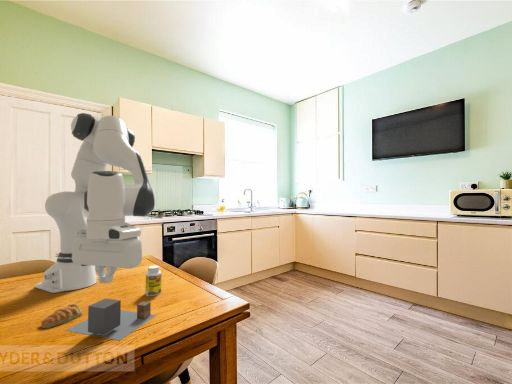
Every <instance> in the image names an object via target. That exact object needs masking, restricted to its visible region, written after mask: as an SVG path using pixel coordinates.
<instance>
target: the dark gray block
mask: <svg viewBox="0 0 512 384" xmlns="http://www.w3.org/2000/svg"><path fill="white" fill-rule="evenodd" d="M121 303H122V302H121V299H112V298H104V299H101V300H99V301H97V302H95V303H92V304H90V305H88V306H87V311H88V313H87V314H88V315H87V316H88V318H87V319H88V332H90V333H96V334H101V335H105V334H106V333H108V332H110V331H111V330H113V329H114V328H116V327H118V326H119V325H120V313H121V310H122V307H121Z"/></svg>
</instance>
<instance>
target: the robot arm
mask: <svg viewBox="0 0 512 384" xmlns="http://www.w3.org/2000/svg"><path fill="white" fill-rule="evenodd" d="M70 129H71V134H72V136H73V137H74V138H75V139H77V140H80V141H83V142H82V144H80V147H79V150H78V152H77V154H76V156H75V157H76V158H75V160H74V163H73V167H72V169H71V174H70V175H71V178H72V179H73V180H74V183H75V187H74V188H75V189H74V191H60V192H56V193H52V194H51V195H50V196H48V197H47V199H46V200H45V203H44V209H45V211H46V213H47V215H49V216H50V217H51V218H52V219H53V220H54V221H55V223H56V225H57V228H58V231H59V238H60V239H59V240H60V250H59V251H60V252H58V253H55V258H57V259H56V262H55V263H54V264H52V265H51V266H50V267H49V268H47V269H46V270H45V271H44V274H43V280H42V281H41V282H38V283H36V284H35V289H36V288H37V289H39V290H42V291H45V292H48V293H51V294H56V293H60V292H68V291H74V290H79V289H84V288H85V289H86V288H87V287H90V286H92V285H95V284H96V283H97V281H98V283H102V284H103V283H104V284H110V283H113V281H114V276H115V275H114V274H115V273H116V271H117V269H118V268H119V269H133V268H136V267H139V266H140V265H141V263H142V261H143V246H142V241H141V239H140V238H139V237H140V236H141V235H142V229H140V228H139V227H136V226H134V225H132V224H130V223H127V222H126V217H131V216H133V217H146V216H148V215H149V214H150V213H151V212H153V210H155V205H156V197H155V193H154V191H153V188H152V186H151V184H150V180H149V178H148V175H147V171H146V168H145V165H144V162H143V159H142V156H141V155H140V152H139V151H137V150H136V149H134V148H133V147H134V145H135V142H136V135H135V133H134V131H132V130H131V129H129V128H127V125H126V124H125V122H124V121H123V120H122V118H120V117H117V116H116V115H115V116H114V115H106V116H103V117H97V116H94V115H92V114H89V113H86V112H85V113H84V112H81V113H78V114H77V115H76V116H75V117H73V119H72V121H71V123H70ZM107 165H110V166H113V167H118V168H120V169H123V170H125V171H126V170H127V171H128V172H130V173H131V176H132V179H133V182H134V184H125V181H124V175H123V174H122V173H121V172H119V171H113V170H106V168H107Z"/></svg>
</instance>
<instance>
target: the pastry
mask: <svg viewBox="0 0 512 384" xmlns="http://www.w3.org/2000/svg"><path fill="white" fill-rule="evenodd" d="M81 316H83V311H82V309H81V308H80V306H79V304H77V303H73V304H68V305H67V306H64V307H61V308H58V309H56V310H55V311H54V312H53V313H51V314H49V315H48V316H46V318H44V319H43V320H42V321H41V326H40V327H41V328H42V329H50V328H54V327H57V326H60V325H63V324H66V323H68V322H70V321H72V320H76V319H78V317H79V318H80V317H81Z"/></svg>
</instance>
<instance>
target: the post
mask: <svg viewBox="0 0 512 384" xmlns="http://www.w3.org/2000/svg"><path fill="white" fill-rule="evenodd" d="M151 305H152V303H151V301H145V300H144V301H142V302H140V303H138V304H136V312H137V318H138V319H146V318H147V317H149V316H150V314H151Z"/></svg>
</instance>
